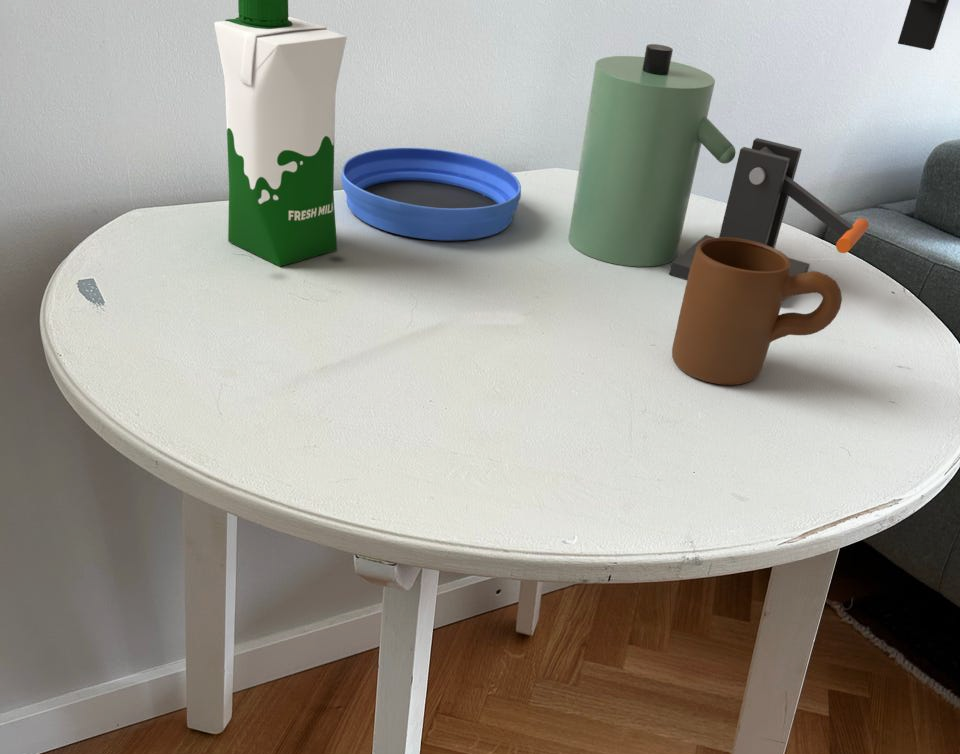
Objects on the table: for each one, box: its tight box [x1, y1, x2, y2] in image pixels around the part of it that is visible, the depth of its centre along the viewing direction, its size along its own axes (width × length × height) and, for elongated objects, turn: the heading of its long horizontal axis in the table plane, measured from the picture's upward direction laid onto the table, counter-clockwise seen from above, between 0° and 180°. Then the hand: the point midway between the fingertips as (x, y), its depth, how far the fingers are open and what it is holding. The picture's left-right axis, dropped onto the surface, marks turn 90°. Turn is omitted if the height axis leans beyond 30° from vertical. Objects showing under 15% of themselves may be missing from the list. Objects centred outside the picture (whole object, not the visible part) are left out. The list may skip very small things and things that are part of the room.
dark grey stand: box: [668, 137, 811, 303], centre depth 105 cm, size 11×10×12 cm
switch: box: [760, 146, 869, 254], centre depth 102 cm, size 12×7×2 cm, turn 62°
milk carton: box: [213, 0, 348, 267], centre depth 96 cm, size 9×9×20 cm
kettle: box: [568, 43, 737, 268], centre depth 105 cm, size 15×11×18 cm
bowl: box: [340, 147, 522, 242], centre depth 112 cm, size 18×18×4 cm
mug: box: [671, 237, 843, 386], centre depth 89 cm, size 12×8×9 cm, turn 74°
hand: (915, 45), depth 92 cm, fingers closed
